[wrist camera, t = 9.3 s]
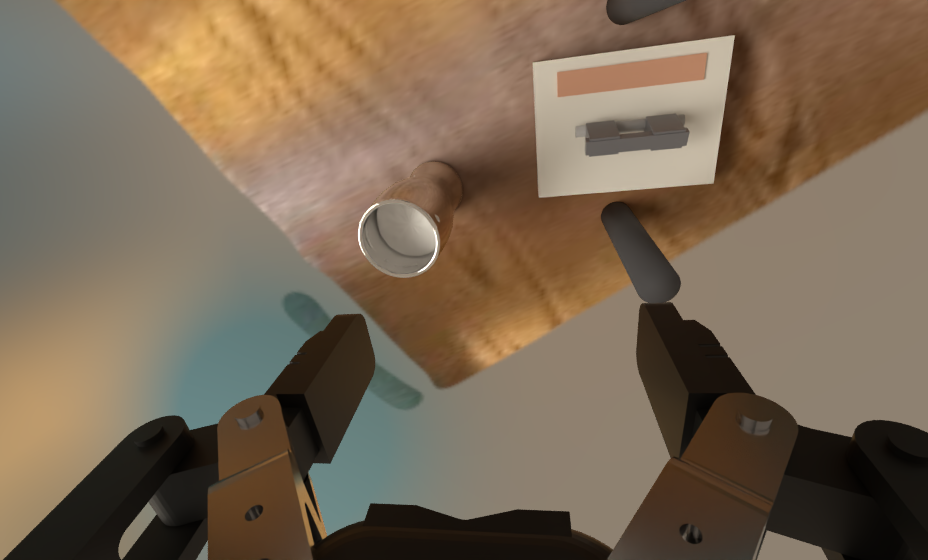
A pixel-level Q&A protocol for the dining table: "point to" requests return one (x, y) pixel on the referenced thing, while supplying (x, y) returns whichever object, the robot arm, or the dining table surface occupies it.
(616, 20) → the cable post near arm
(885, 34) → the dining table surface
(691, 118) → the breaker panel
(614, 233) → the post
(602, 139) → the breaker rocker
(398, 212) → the beer glass
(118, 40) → the dining table surface
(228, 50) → the dining table surface
